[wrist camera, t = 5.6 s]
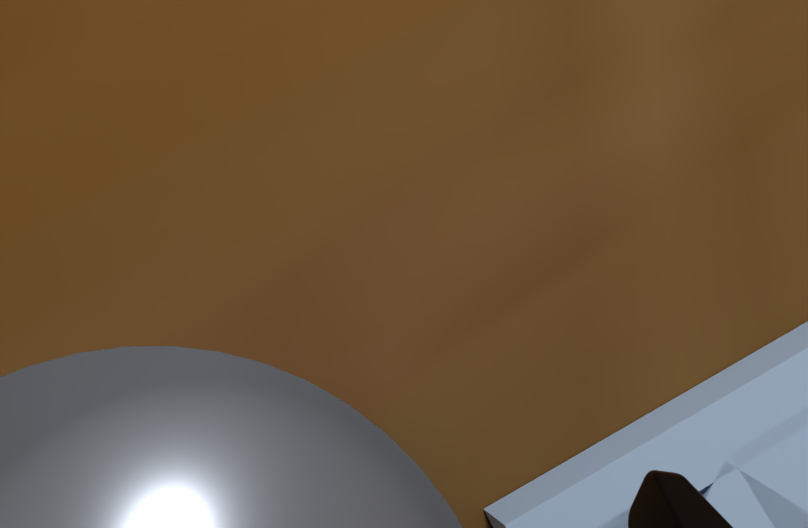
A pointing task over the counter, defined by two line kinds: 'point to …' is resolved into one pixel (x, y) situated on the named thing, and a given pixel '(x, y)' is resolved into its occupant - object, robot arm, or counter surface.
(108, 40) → the counter surface
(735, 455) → the holder
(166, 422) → the round bit
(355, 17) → the counter surface
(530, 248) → the counter surface
